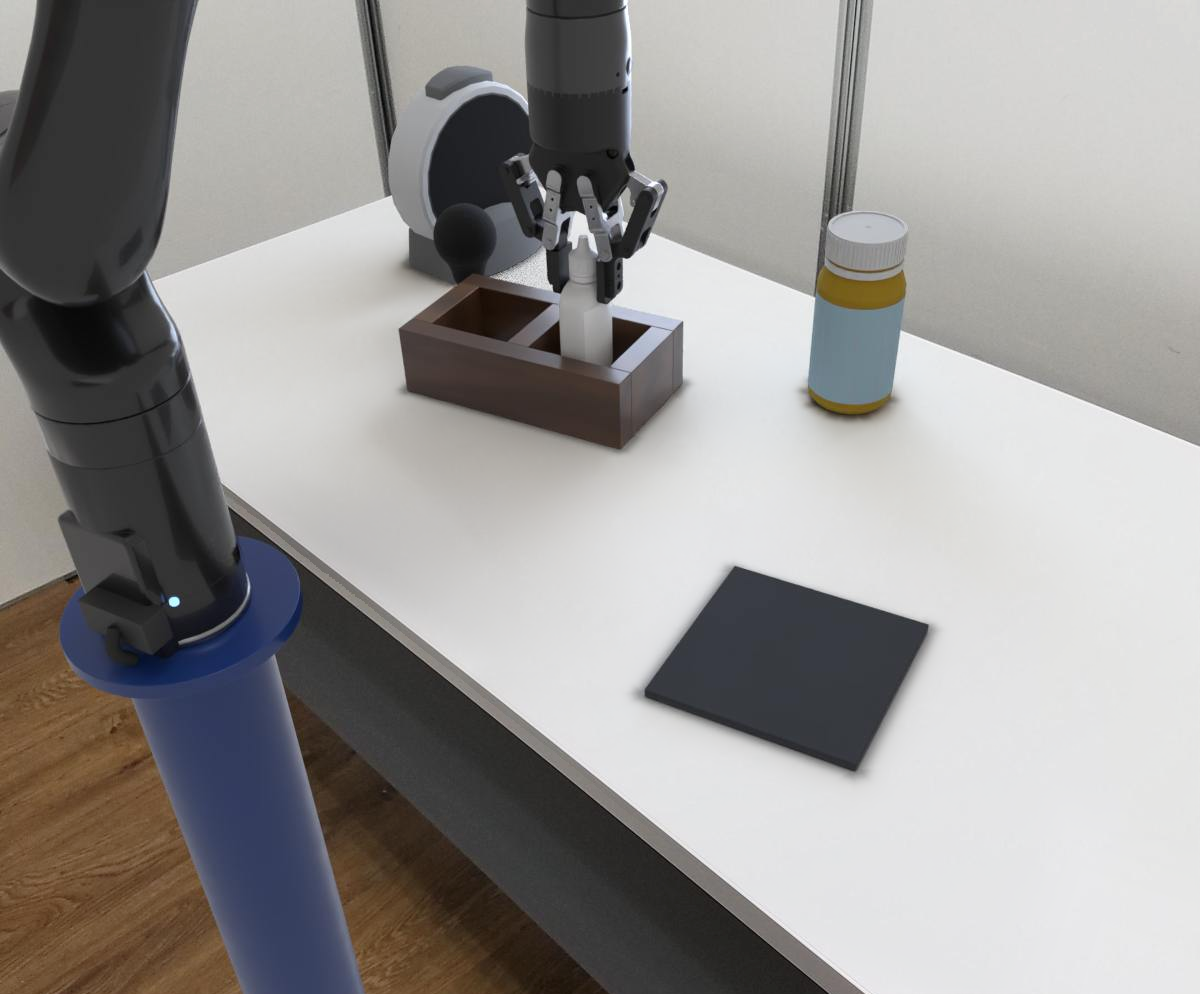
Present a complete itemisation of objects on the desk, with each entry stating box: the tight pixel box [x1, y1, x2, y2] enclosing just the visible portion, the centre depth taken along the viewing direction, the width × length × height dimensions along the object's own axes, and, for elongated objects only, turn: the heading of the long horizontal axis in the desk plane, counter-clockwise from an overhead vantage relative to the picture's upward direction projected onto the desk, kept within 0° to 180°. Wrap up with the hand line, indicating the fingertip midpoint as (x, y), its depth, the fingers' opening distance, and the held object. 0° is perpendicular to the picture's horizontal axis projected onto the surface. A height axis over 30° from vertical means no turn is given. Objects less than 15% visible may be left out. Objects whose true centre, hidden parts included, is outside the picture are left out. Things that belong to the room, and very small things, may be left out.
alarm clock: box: [387, 65, 543, 285], centre depth 124 cm, size 16×10×18 cm, turn 136°
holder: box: [397, 274, 684, 450], centre depth 107 cm, size 12×21×6 cm, turn 61°
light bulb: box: [433, 203, 497, 286], centre depth 118 cm, size 6×6×10 cm
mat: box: [644, 565, 930, 771], centre depth 81 cm, size 14×14×1 cm
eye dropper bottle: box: [559, 234, 613, 367], centre depth 102 cm, size 4×6×12 cm
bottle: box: [807, 209, 909, 415], centre depth 102 cm, size 7×7×15 cm
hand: (585, 293), depth 101 cm, fingers closed on eye dropper bottle, 3 cm apart
